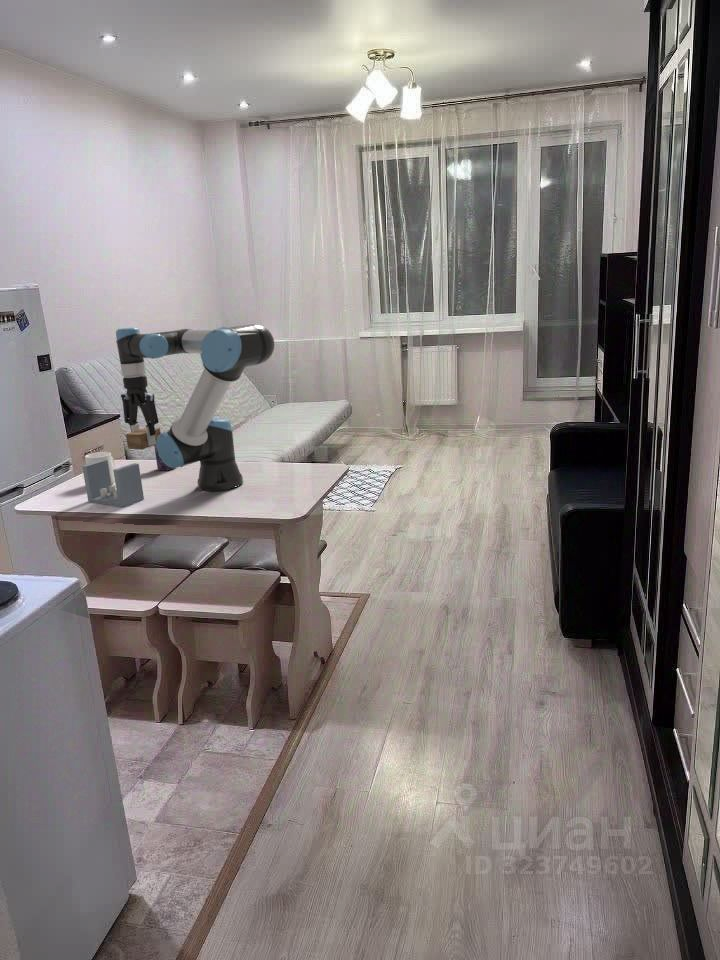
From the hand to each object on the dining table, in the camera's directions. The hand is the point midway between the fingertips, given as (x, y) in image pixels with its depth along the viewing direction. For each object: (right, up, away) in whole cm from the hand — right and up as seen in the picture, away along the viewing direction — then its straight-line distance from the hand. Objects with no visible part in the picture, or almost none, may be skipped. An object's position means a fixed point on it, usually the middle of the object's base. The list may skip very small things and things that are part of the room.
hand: (145, 444), depth 241 cm
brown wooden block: (0, -1, 0) cm, 1 cm away
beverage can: (0, -8, +29) cm, 30 cm away
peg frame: (-7, -19, -8) cm, 22 cm away
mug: (-18, -13, +15) cm, 27 cm away
